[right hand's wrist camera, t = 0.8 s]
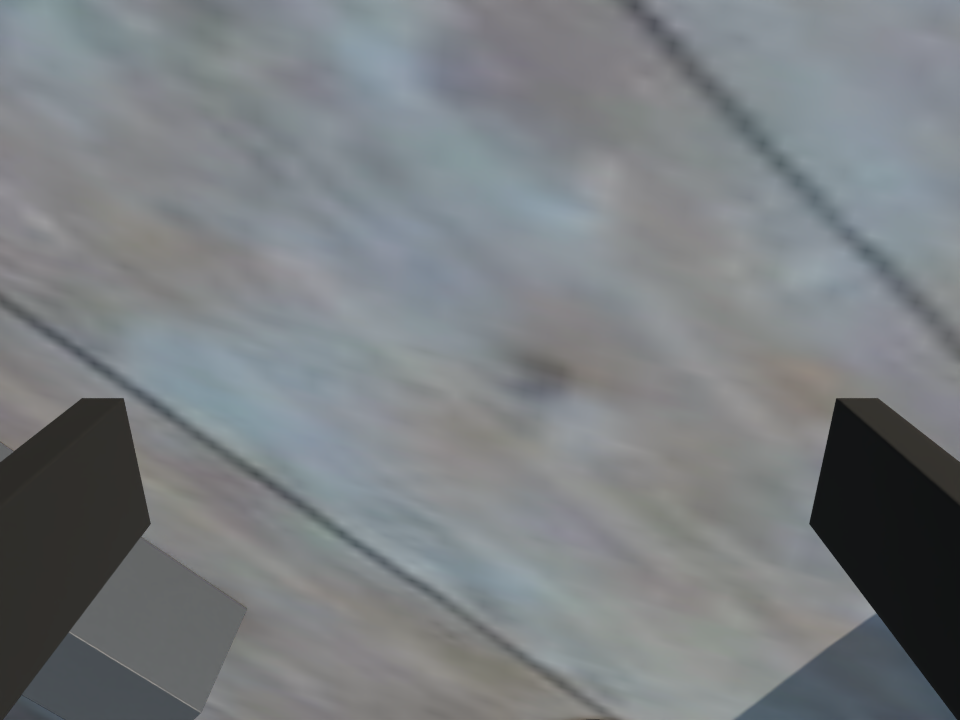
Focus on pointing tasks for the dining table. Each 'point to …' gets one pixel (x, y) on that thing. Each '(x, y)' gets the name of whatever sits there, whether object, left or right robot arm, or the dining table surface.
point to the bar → (140, 644)
